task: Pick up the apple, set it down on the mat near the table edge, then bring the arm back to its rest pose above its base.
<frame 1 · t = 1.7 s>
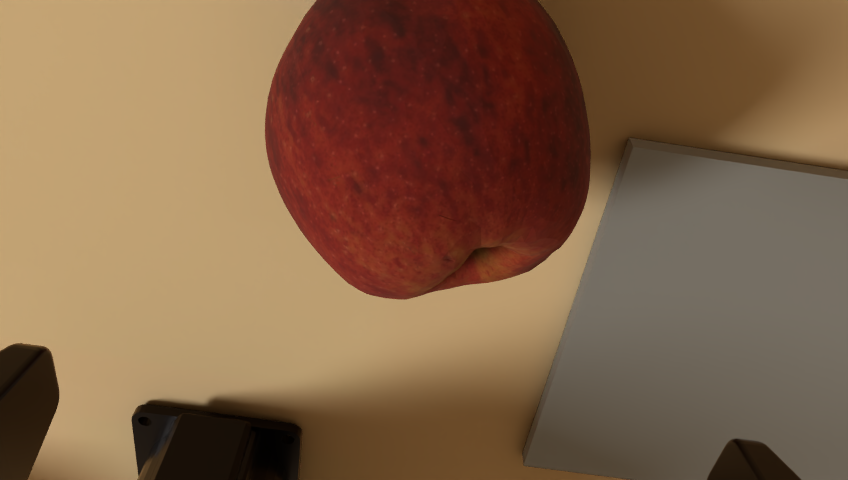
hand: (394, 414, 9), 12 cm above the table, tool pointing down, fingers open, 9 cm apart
mat: (763, 347, 25), on the table
apple: (429, 70, 20), on the table
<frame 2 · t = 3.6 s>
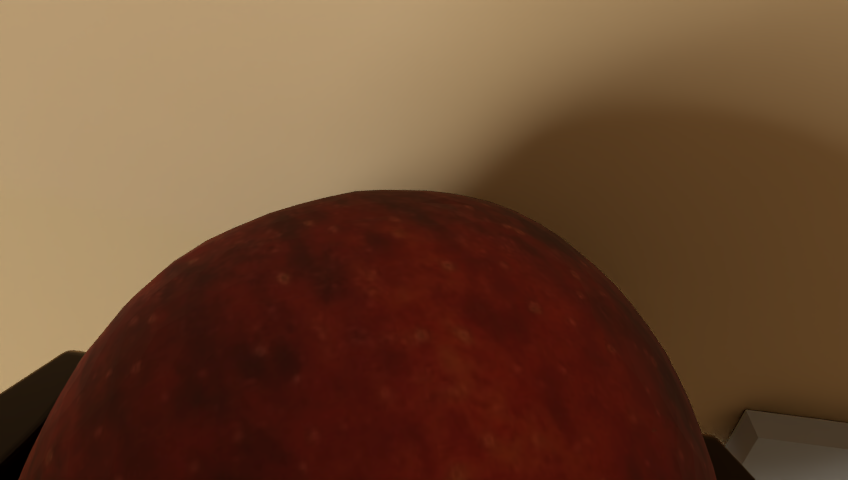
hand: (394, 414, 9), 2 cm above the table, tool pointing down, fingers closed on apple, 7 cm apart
apple: (398, 306, 11), on the table, touching gripper
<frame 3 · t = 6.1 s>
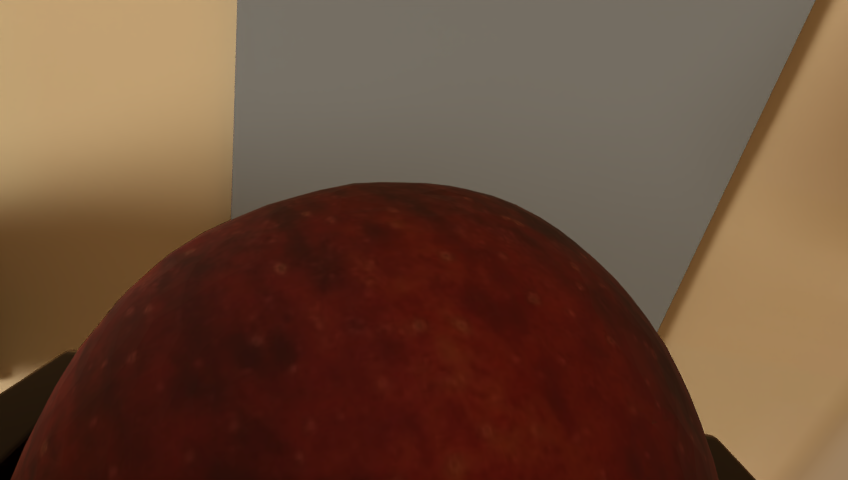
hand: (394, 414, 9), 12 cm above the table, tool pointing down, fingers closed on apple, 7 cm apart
mat: (484, 139, 20), on the table
apple: (397, 302, 11), point 10 cm above the table, touching gripper
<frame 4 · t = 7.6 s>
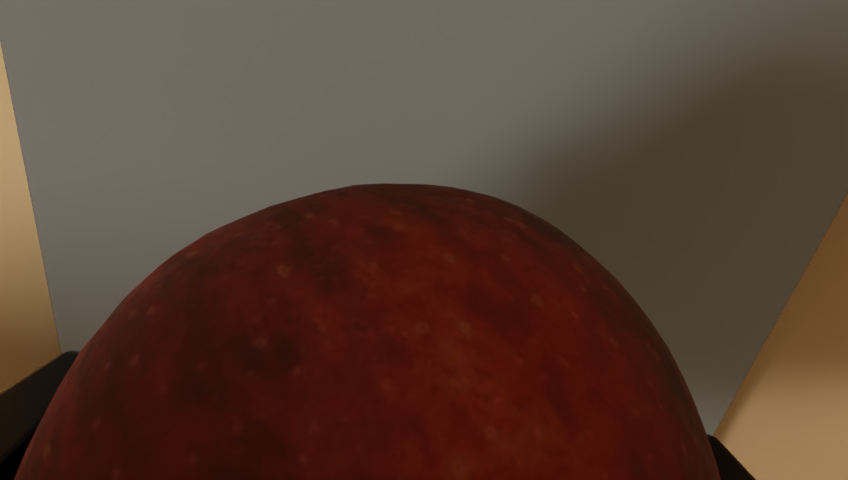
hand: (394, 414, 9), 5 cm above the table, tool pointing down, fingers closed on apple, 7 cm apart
mat: (420, 219, 13), on the table
apple: (398, 303, 11), point 3 cm above the table, touching gripper
when the fingers open (4 cm above the table, at t = 8.8 s): apple drops 1 cm, resting on mat.
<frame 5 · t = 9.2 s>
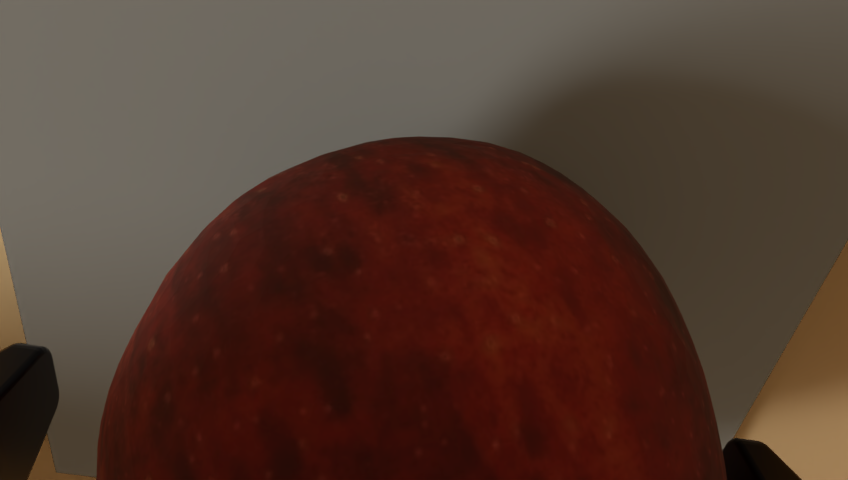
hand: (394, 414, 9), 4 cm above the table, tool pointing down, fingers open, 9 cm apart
mat: (411, 244, 13), on the table
apple: (421, 260, 12), resting on mat
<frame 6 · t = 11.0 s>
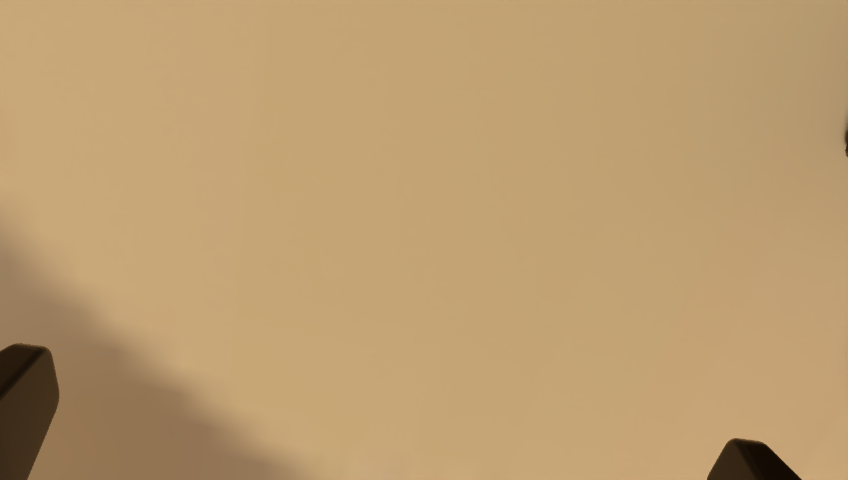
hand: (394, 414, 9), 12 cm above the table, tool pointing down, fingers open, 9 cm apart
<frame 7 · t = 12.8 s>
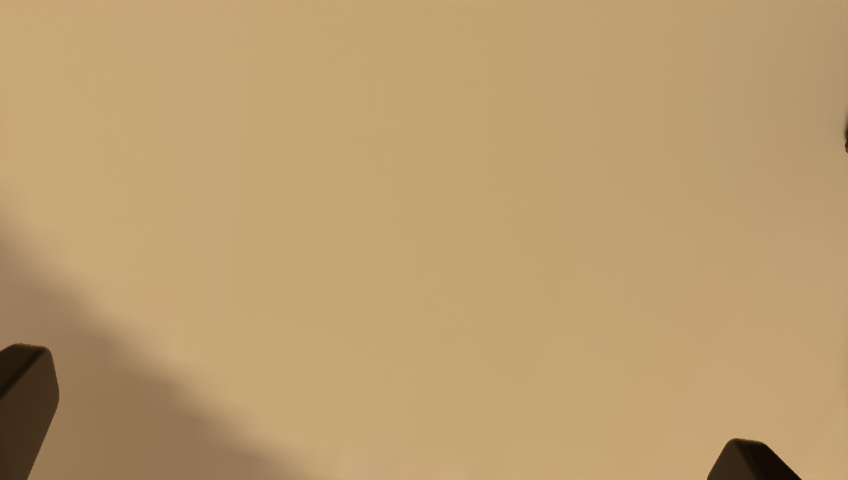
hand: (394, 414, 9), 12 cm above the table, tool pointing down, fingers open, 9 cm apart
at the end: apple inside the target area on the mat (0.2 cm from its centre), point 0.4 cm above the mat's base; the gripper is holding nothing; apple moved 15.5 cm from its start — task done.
